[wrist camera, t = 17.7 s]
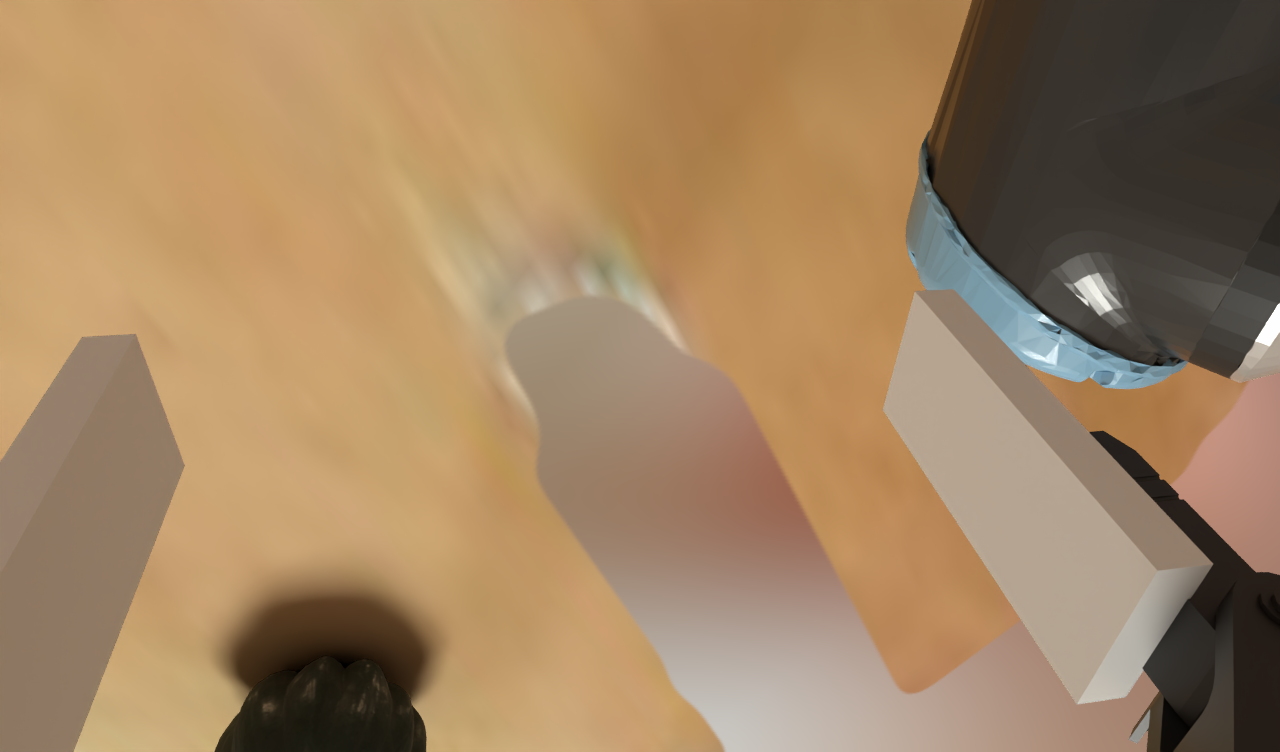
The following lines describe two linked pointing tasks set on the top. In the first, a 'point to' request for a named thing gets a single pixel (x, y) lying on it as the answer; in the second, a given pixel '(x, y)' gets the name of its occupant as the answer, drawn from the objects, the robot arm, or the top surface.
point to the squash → (326, 713)
